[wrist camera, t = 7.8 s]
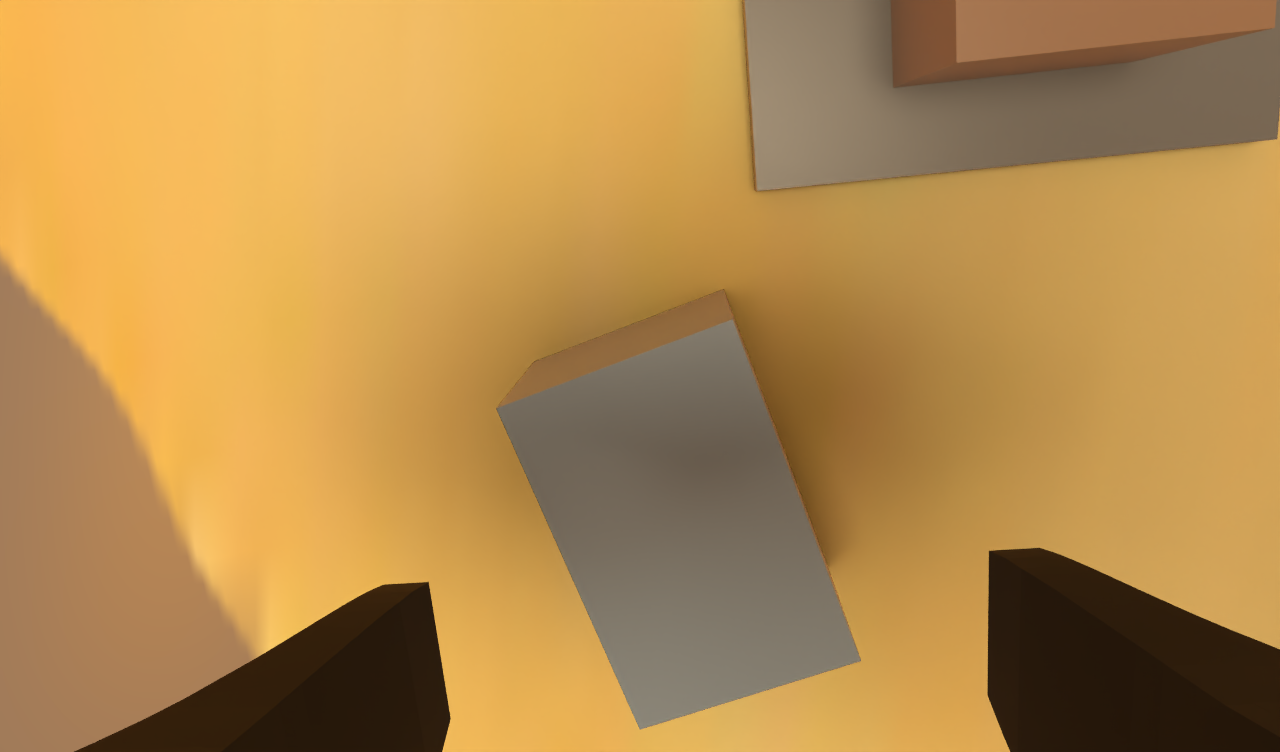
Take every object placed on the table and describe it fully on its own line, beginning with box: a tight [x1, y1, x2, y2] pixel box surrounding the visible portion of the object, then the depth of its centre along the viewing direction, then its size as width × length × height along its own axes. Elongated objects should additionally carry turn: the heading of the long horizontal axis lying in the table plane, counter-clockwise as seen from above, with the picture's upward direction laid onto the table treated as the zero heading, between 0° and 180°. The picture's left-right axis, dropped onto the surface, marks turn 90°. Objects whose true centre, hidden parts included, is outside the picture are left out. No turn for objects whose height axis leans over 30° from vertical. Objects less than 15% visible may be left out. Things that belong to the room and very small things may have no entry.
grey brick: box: [496, 289, 861, 729], centre depth 17 cm, size 4×7×4 cm, turn 22°
